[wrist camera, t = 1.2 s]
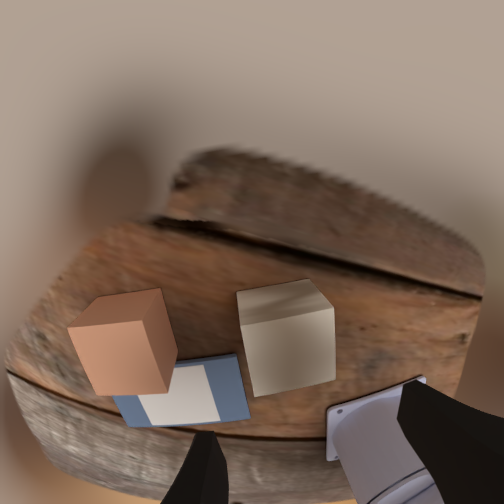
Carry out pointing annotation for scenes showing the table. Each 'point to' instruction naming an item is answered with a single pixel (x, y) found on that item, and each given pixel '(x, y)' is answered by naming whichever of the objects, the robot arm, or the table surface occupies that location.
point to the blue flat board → (191, 396)
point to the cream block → (287, 336)
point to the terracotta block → (126, 343)
